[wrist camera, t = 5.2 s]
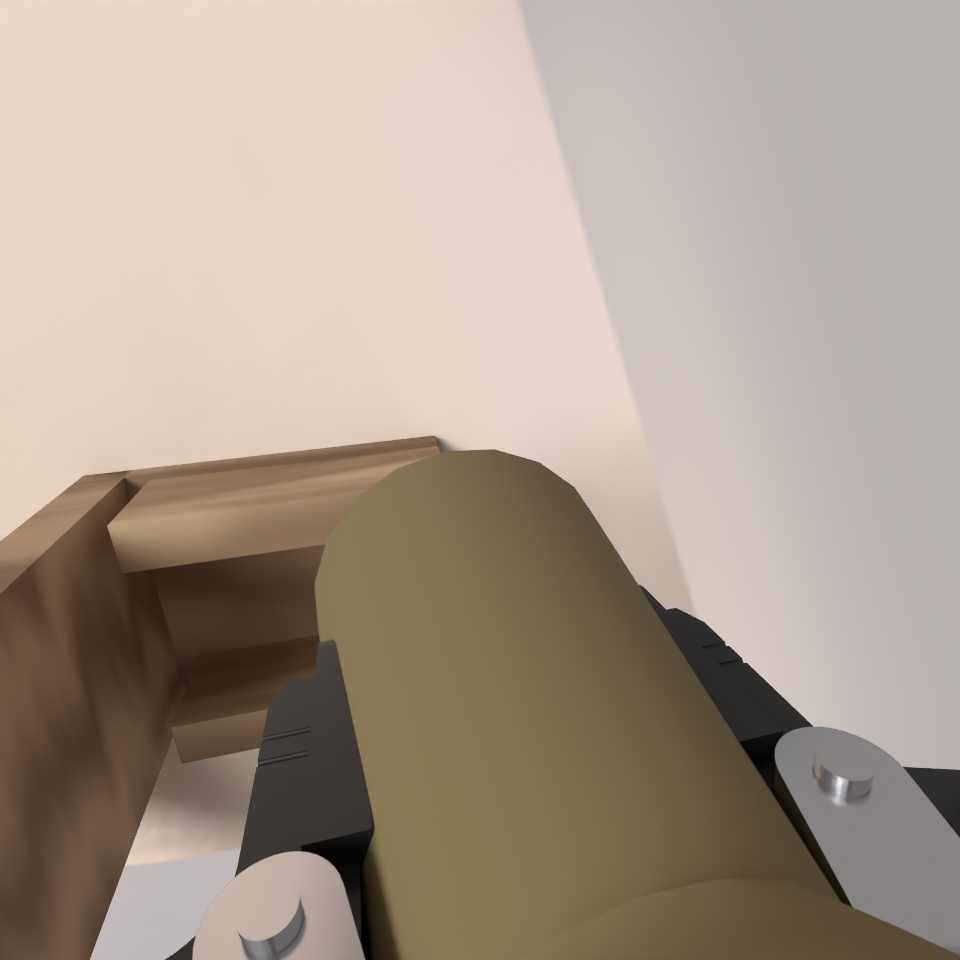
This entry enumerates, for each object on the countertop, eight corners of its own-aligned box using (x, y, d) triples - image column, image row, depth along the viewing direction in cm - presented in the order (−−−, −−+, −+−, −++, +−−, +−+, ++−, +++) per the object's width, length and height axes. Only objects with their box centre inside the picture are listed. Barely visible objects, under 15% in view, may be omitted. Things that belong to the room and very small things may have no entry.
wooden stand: (83, 475, 26) (-373, 835, 10) (434, 435, 29) (550, 658, 12) (152, 689, 30) (-81, 1193, 14) (451, 635, 33) (556, 999, 17)
